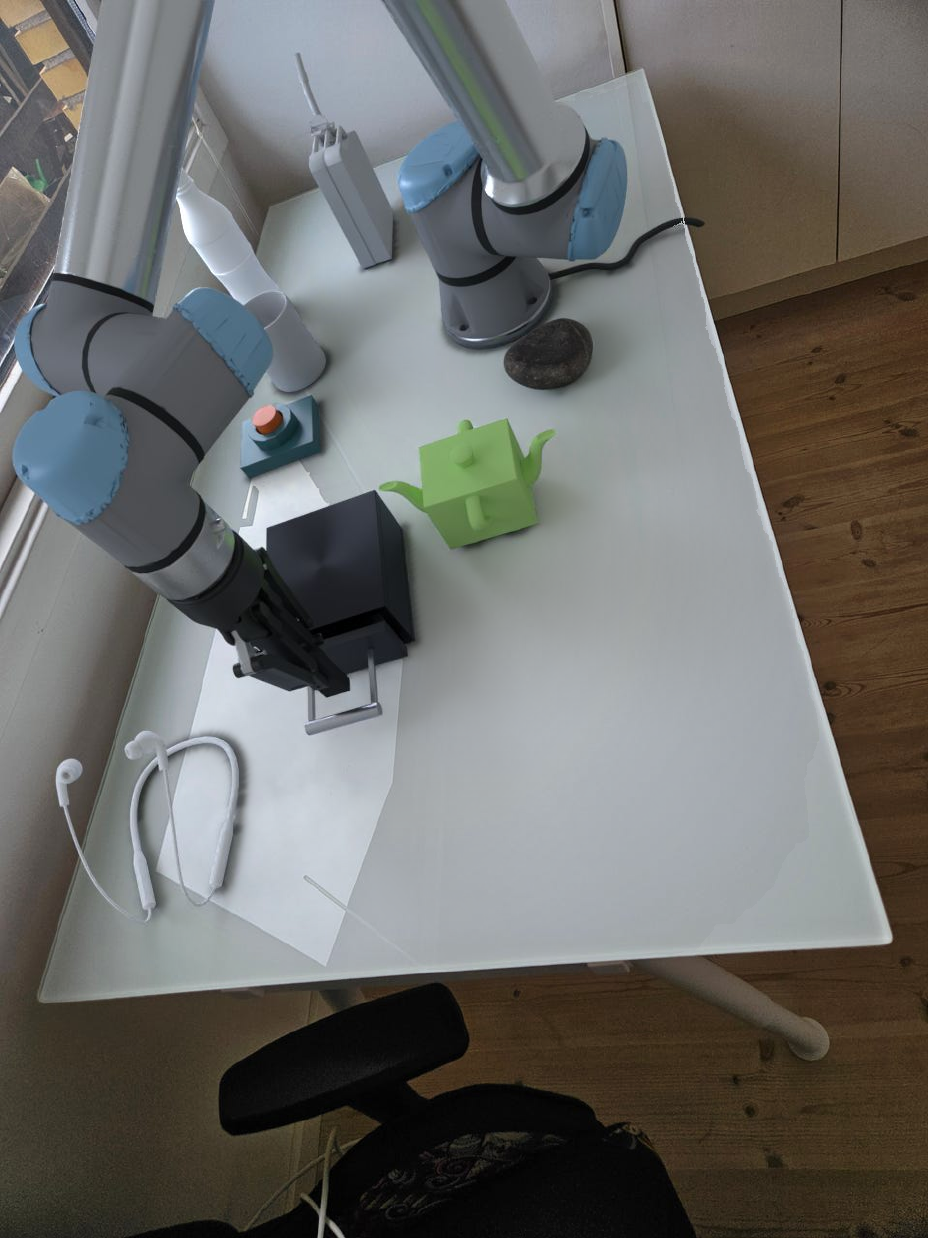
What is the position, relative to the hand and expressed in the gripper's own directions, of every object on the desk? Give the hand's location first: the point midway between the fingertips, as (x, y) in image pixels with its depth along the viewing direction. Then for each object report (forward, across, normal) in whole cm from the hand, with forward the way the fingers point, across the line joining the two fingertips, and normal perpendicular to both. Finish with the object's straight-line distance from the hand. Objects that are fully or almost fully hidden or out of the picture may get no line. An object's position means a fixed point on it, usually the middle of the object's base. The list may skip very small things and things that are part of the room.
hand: (337, 687), depth 82 cm
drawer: (+4, +7, 0) cm, 8 cm away
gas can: (+5, +82, -8) cm, 82 cm away
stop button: (+1, +44, +9) cm, 45 cm away
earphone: (+5, -8, +21) cm, 23 cm away
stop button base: (+5, +44, +9) cm, 45 cm away
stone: (+5, +39, -29) cm, 49 cm away
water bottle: (+5, +72, +11) cm, 73 cm away
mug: (+5, +59, +6) cm, 59 cm away
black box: (+5, +14, 0) cm, 15 cm away
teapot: (+5, +20, -18) cm, 27 cm away
